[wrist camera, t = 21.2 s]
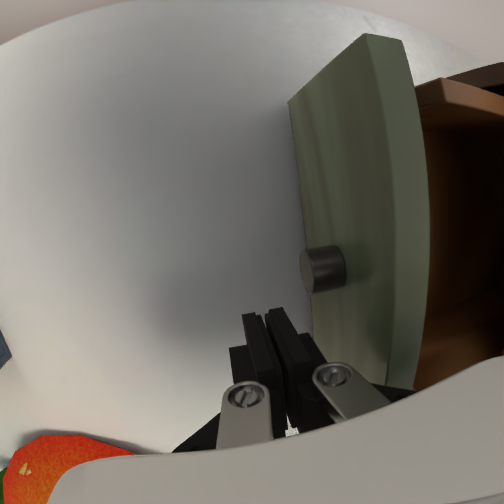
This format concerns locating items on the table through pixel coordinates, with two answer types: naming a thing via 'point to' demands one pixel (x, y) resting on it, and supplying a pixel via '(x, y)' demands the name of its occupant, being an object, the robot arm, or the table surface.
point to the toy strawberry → (49, 465)
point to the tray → (3, 352)
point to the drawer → (400, 216)
